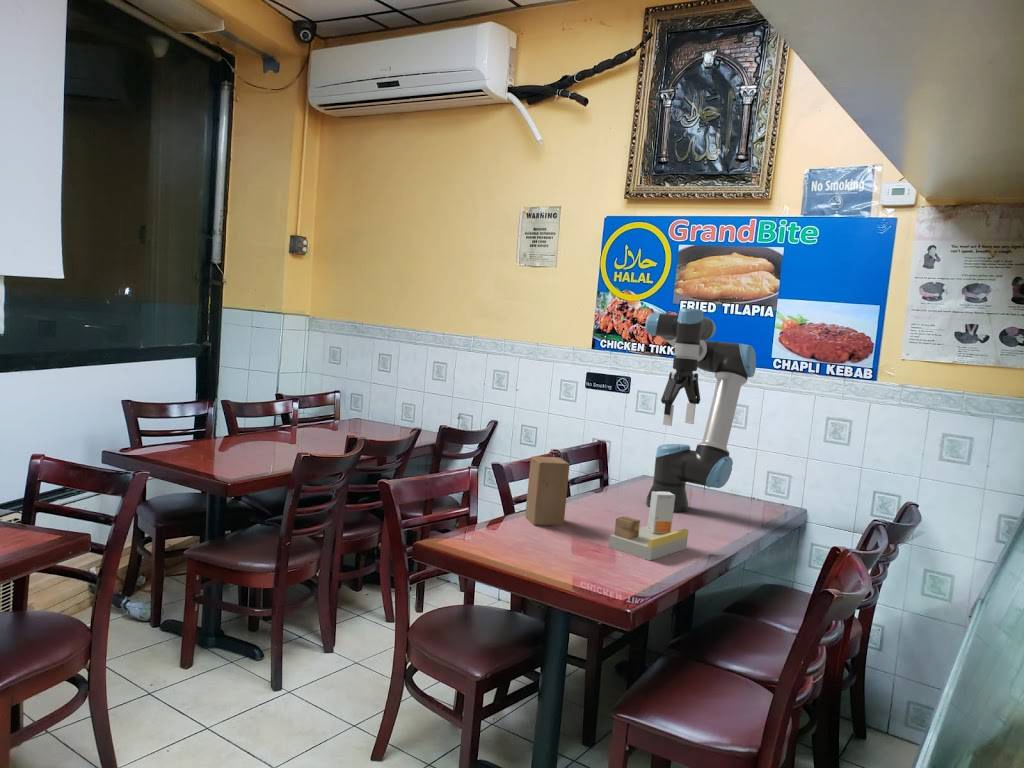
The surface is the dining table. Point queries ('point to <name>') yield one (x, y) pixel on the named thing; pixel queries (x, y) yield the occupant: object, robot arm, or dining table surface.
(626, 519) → the tan wooden cube
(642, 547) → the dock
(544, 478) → the wooden block
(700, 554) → the dining table surface
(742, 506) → the dining table surface
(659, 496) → the skincare box
